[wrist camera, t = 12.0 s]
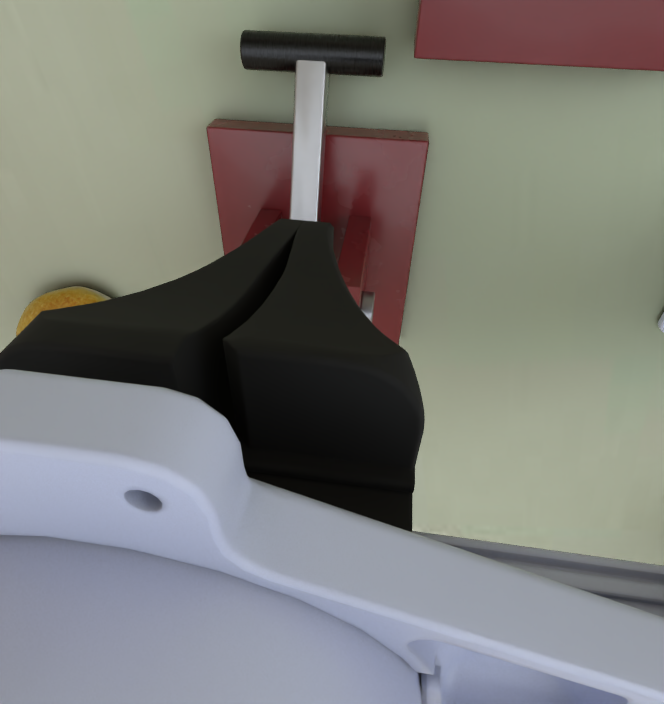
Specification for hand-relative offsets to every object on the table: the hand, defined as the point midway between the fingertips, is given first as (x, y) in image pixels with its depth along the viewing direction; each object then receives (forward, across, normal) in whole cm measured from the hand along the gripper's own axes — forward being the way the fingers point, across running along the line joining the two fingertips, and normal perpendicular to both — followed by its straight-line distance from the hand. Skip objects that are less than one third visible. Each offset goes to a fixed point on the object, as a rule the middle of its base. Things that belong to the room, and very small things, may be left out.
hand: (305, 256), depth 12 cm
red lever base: (+10, +1, +5) cm, 12 cm away
